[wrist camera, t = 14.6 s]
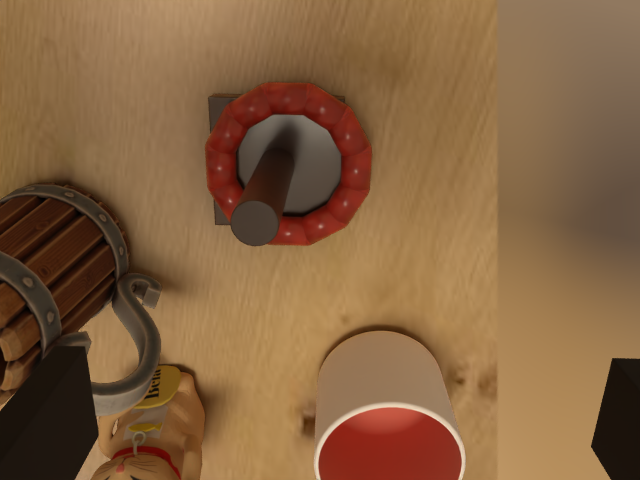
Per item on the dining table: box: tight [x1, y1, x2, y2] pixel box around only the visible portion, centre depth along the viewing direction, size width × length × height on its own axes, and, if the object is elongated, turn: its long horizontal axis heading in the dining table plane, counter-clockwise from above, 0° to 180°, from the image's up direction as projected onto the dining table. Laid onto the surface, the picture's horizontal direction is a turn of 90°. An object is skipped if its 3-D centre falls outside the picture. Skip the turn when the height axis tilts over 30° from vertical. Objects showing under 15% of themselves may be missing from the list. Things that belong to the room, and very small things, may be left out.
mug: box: [0, 183, 162, 416], centre depth 36 cm, size 16×11×15 cm
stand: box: [208, 94, 345, 246], centre depth 34 cm, size 9×9×14 cm
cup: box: [314, 331, 466, 480], centre depth 42 cm, size 10×10×10 cm
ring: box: [205, 82, 372, 246], centre depth 38 cm, size 11×11×2 cm
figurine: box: [91, 365, 205, 480], centre depth 41 cm, size 9×10×15 cm
